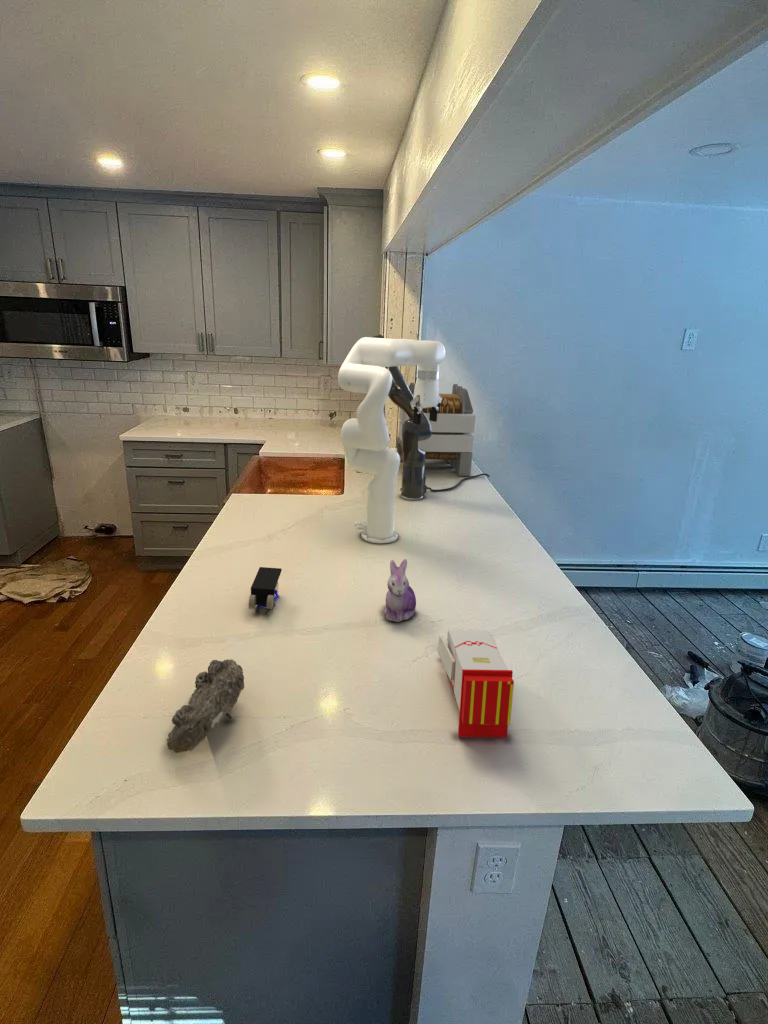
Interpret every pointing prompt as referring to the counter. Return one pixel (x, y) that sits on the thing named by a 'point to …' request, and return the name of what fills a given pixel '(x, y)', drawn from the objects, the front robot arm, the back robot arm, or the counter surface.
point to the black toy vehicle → (264, 588)
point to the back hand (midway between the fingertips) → (376, 453)
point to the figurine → (399, 594)
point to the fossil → (206, 705)
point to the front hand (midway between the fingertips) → (424, 422)
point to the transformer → (447, 431)
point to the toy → (478, 682)
